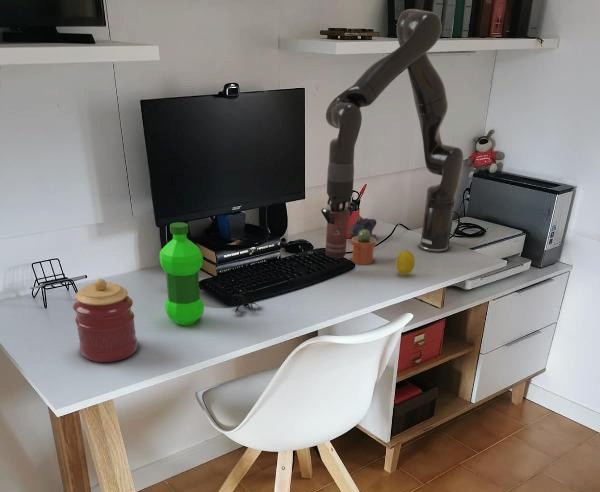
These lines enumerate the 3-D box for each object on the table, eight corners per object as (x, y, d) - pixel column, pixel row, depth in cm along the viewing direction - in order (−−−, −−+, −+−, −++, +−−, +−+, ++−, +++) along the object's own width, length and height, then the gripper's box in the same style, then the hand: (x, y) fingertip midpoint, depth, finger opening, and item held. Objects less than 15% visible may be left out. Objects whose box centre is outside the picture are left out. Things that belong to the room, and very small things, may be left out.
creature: (264, 314, 176) (245, 299, 180) (267, 297, 173) (248, 282, 177) (242, 322, 172) (223, 307, 175) (245, 305, 168) (225, 290, 172)
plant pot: (361, 255, 216) (363, 224, 211) (379, 261, 212) (382, 230, 206) (345, 260, 212) (347, 229, 206) (363, 266, 207) (366, 235, 201)
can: (346, 259, 196) (350, 212, 188) (325, 258, 196) (328, 211, 188) (345, 252, 201) (349, 206, 194) (325, 251, 201) (328, 205, 194)
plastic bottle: (157, 318, 169) (149, 223, 156) (193, 309, 175) (188, 216, 162) (176, 333, 163) (169, 234, 150) (213, 323, 168) (209, 226, 155)
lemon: (415, 274, 202) (418, 249, 198) (409, 280, 198) (413, 254, 194) (397, 271, 204) (400, 246, 200) (392, 276, 200) (395, 251, 196)
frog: (340, 238, 231) (341, 216, 227) (365, 232, 237) (366, 211, 233) (359, 245, 224) (361, 223, 220) (384, 239, 231) (386, 217, 227)
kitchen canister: (73, 362, 148) (61, 289, 139) (89, 337, 159) (78, 268, 150) (131, 364, 148) (122, 291, 139) (142, 338, 159) (135, 269, 150)
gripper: (333, 184, 180) (331, 245, 189) (365, 176, 188) (361, 235, 197) (314, 178, 185) (312, 238, 194) (346, 171, 193) (343, 229, 202)
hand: (337, 237), depth 196 cm, fingers closed
